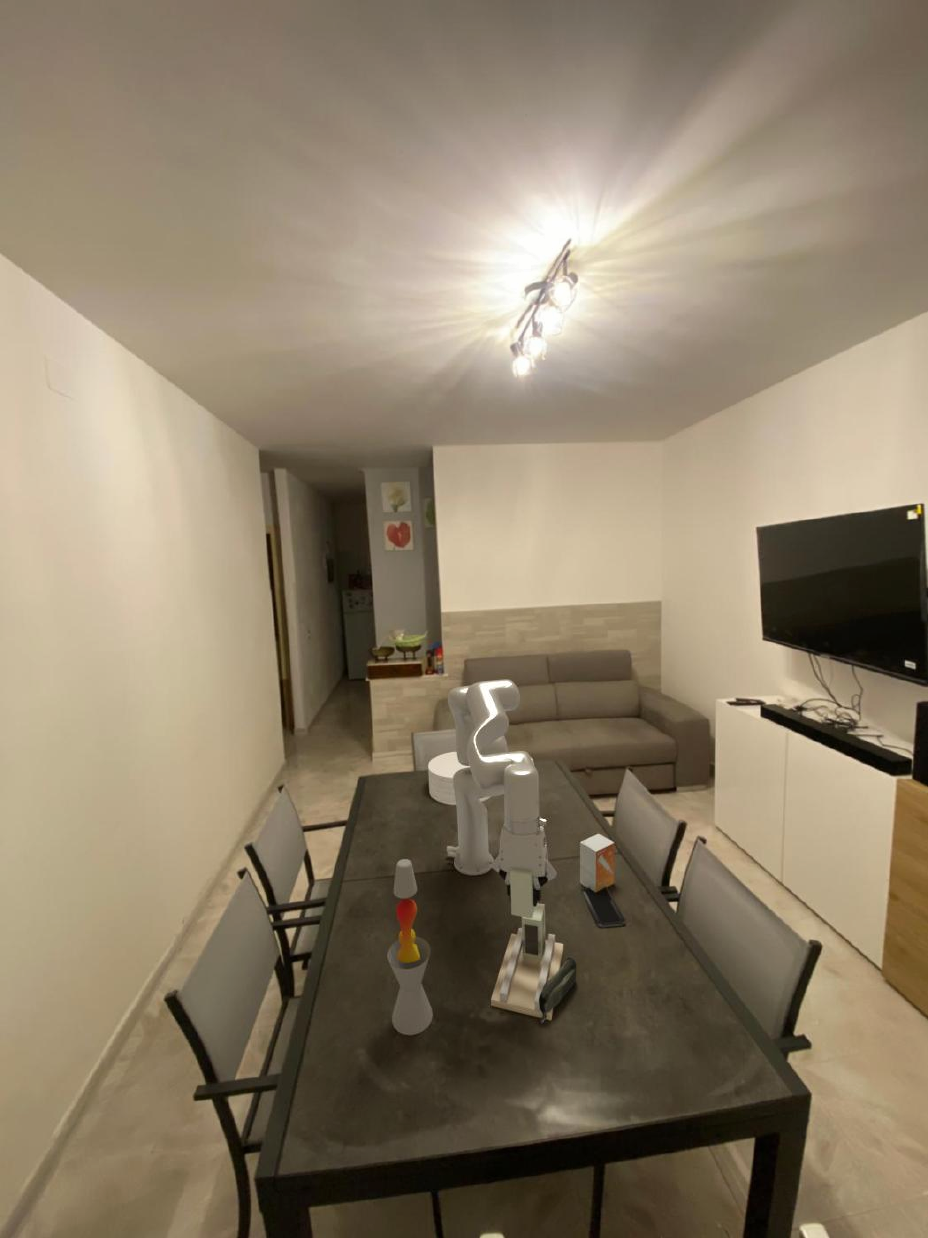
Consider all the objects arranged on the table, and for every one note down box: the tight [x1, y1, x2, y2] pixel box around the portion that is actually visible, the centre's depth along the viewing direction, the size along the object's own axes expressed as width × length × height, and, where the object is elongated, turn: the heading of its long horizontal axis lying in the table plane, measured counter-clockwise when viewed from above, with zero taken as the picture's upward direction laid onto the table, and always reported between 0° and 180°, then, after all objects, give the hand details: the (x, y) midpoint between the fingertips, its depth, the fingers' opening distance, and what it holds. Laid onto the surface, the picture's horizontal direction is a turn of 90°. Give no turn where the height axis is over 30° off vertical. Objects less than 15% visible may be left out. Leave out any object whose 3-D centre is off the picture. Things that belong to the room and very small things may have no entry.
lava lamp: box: [386, 858, 434, 1036], centre depth 105 cm, size 9×9×35 cm
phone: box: [581, 887, 626, 929], centre depth 138 cm, size 8×1×15 cm
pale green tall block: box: [510, 869, 535, 918], centre depth 111 cm, size 4×6×10 cm
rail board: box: [490, 902, 564, 1021], centre depth 116 cm, size 20×13×12 cm, turn 162°
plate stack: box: [427, 751, 491, 806], centre depth 212 cm, size 28×28×12 cm
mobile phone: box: [539, 957, 577, 1024], centre depth 110 cm, size 5×3×15 cm
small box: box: [579, 833, 615, 892], centre depth 147 cm, size 8×6×13 cm
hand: (524, 899), depth 111 cm, fingers closed on pale green tall block, 4 cm apart
